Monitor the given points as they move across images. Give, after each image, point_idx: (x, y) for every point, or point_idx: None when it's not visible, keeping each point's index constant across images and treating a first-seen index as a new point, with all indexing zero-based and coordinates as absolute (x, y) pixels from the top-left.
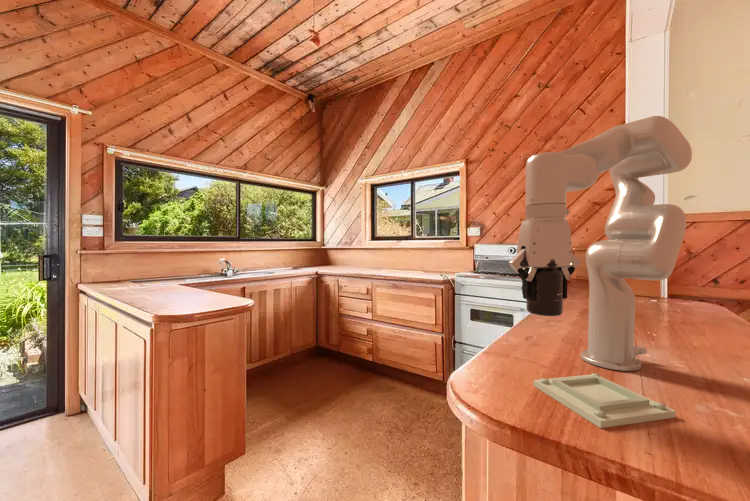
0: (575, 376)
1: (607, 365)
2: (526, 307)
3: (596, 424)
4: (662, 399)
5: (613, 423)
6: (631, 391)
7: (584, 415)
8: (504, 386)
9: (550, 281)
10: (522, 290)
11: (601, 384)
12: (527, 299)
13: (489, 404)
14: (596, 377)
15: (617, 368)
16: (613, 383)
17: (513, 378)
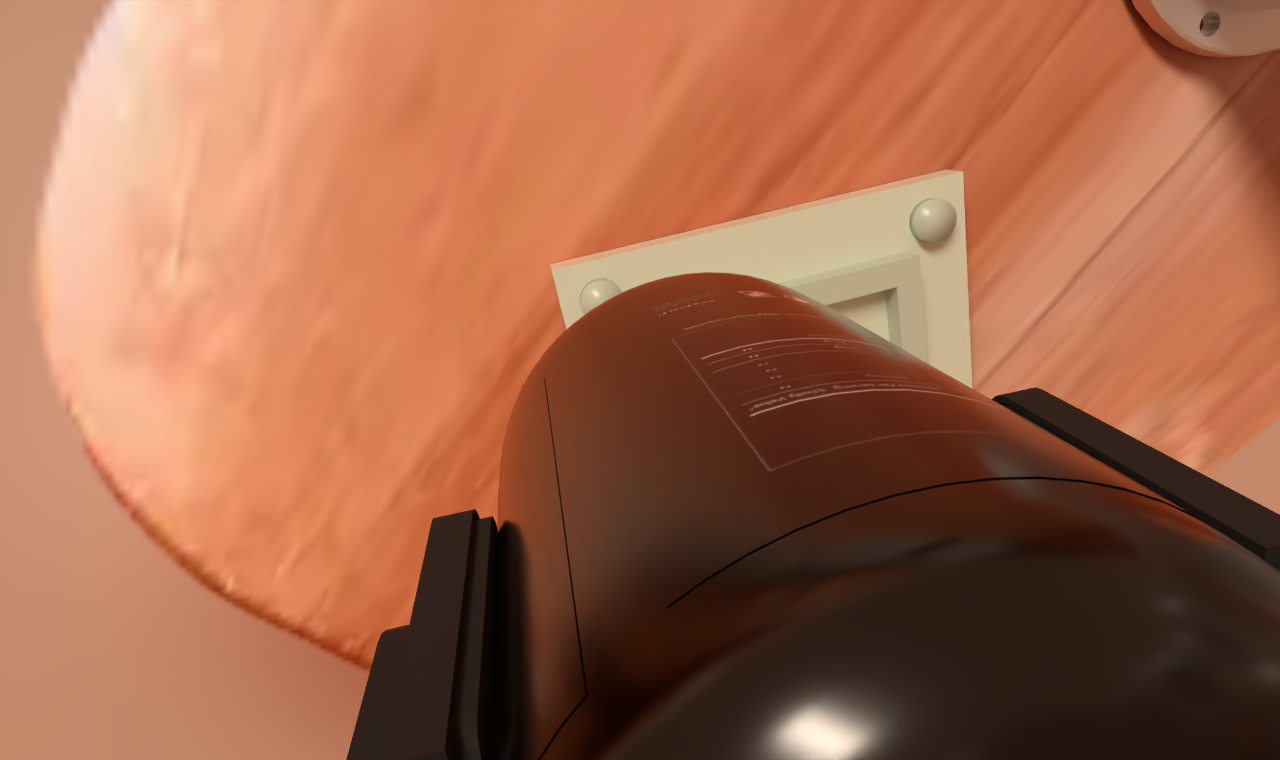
0: (826, 210)
1: (1153, 9)
2: (510, 418)
3: None
4: (1059, 376)
5: None
6: (965, 376)
7: None
8: (371, 279)
9: None
10: (375, 672)
11: (886, 312)
12: (498, 530)
13: (231, 480)
14: (897, 287)
15: (1177, 41)
16: (924, 355)
17: (468, 162)
